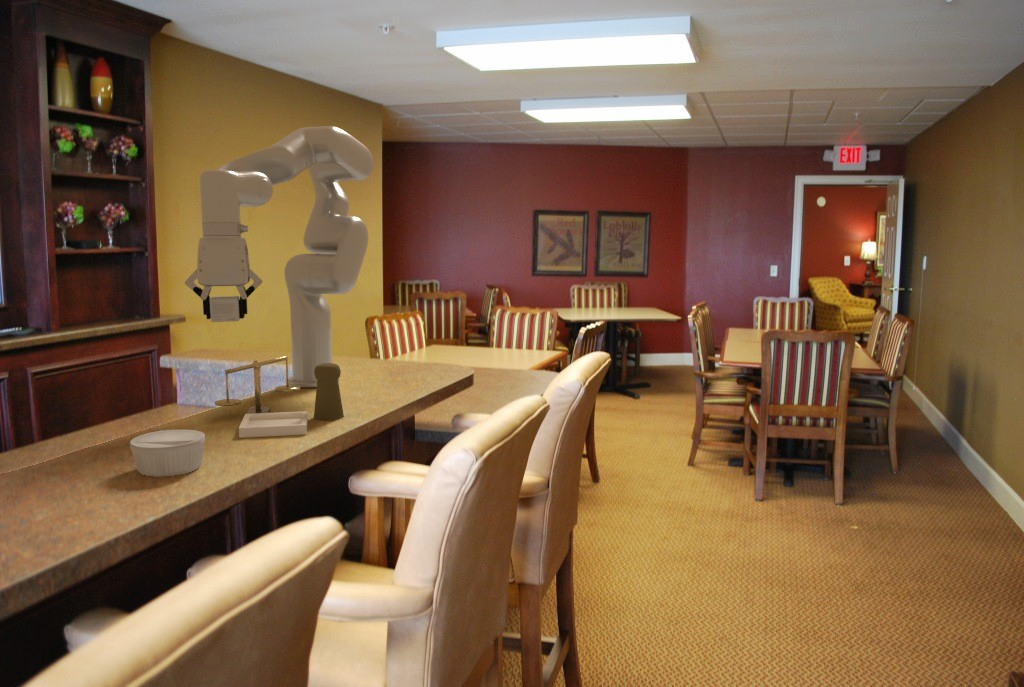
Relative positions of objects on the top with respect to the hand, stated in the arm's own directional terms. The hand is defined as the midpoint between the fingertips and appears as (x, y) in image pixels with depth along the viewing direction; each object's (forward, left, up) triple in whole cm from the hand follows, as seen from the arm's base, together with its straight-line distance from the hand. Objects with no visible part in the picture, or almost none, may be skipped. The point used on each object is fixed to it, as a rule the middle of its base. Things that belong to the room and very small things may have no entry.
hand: (225, 317), depth 177 cm
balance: (+8, +7, -19) cm, 22 cm away
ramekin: (+45, -4, -20) cm, 49 cm away
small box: (0, 0, -1) cm, 1 cm away
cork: (+12, +21, -20) cm, 31 cm away
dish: (+20, +11, -19) cm, 30 cm away
